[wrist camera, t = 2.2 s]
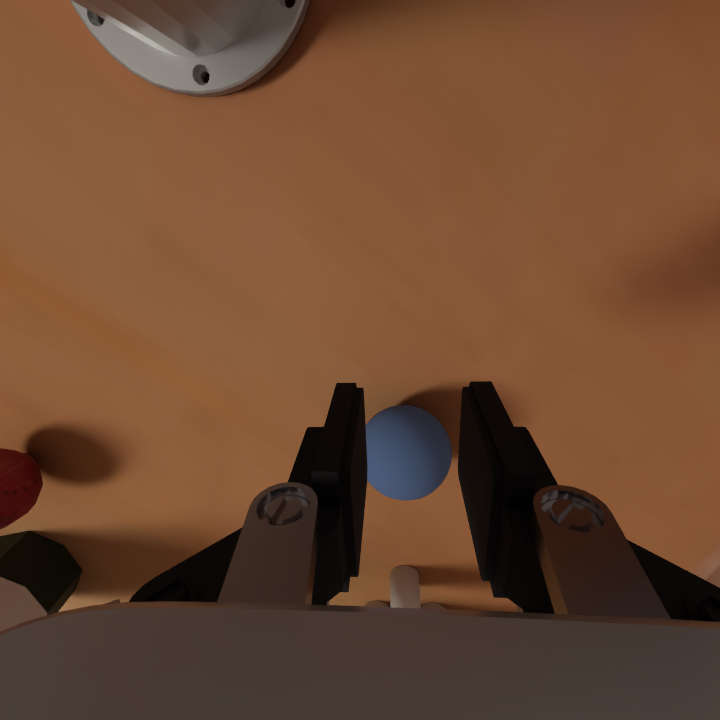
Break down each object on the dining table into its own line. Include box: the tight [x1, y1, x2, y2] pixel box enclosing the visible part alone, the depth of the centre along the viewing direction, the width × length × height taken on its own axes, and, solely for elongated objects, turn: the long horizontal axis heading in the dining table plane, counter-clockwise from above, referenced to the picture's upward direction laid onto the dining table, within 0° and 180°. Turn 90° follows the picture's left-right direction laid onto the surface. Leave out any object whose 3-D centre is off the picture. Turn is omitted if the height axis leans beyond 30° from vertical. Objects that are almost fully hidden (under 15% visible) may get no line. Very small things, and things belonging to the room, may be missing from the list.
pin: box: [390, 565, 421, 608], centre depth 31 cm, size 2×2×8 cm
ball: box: [365, 405, 452, 500], centre depth 26 cm, size 6×6×6 cm
